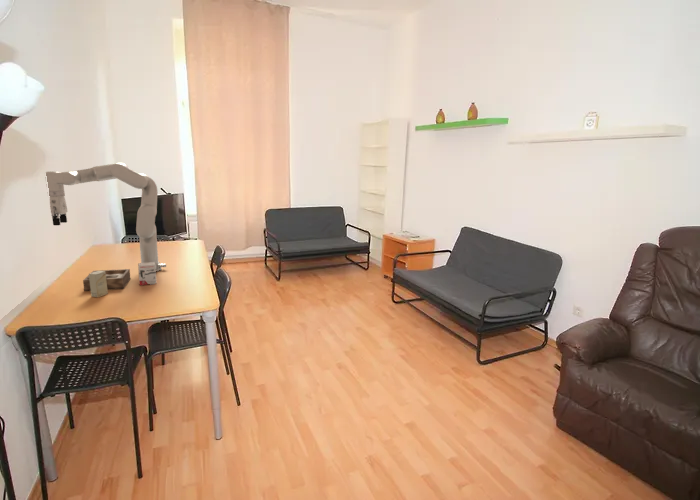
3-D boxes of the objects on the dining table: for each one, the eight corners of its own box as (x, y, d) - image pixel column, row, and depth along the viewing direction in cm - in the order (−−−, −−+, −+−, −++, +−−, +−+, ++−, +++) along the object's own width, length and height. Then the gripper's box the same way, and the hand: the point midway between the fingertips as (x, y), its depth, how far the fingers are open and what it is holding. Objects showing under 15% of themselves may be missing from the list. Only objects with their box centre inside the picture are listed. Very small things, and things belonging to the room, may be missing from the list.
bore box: (130, 278, 220) (129, 269, 219) (123, 288, 204) (122, 278, 202) (94, 280, 215) (93, 270, 213) (84, 291, 198) (82, 280, 197)
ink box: (139, 285, 210) (137, 265, 207) (139, 283, 214) (137, 263, 211) (156, 284, 214) (155, 264, 211) (156, 281, 218) (155, 261, 215)
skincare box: (98, 297, 190) (95, 274, 187) (90, 296, 191) (88, 273, 188) (108, 293, 196) (105, 271, 193) (101, 292, 197) (98, 270, 194)
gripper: (57, 195, 205) (62, 226, 209) (70, 192, 221) (73, 221, 225) (41, 195, 203) (45, 226, 207) (54, 192, 219) (58, 221, 223)
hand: (60, 223), depth 216 cm, fingers open, 9 cm apart
